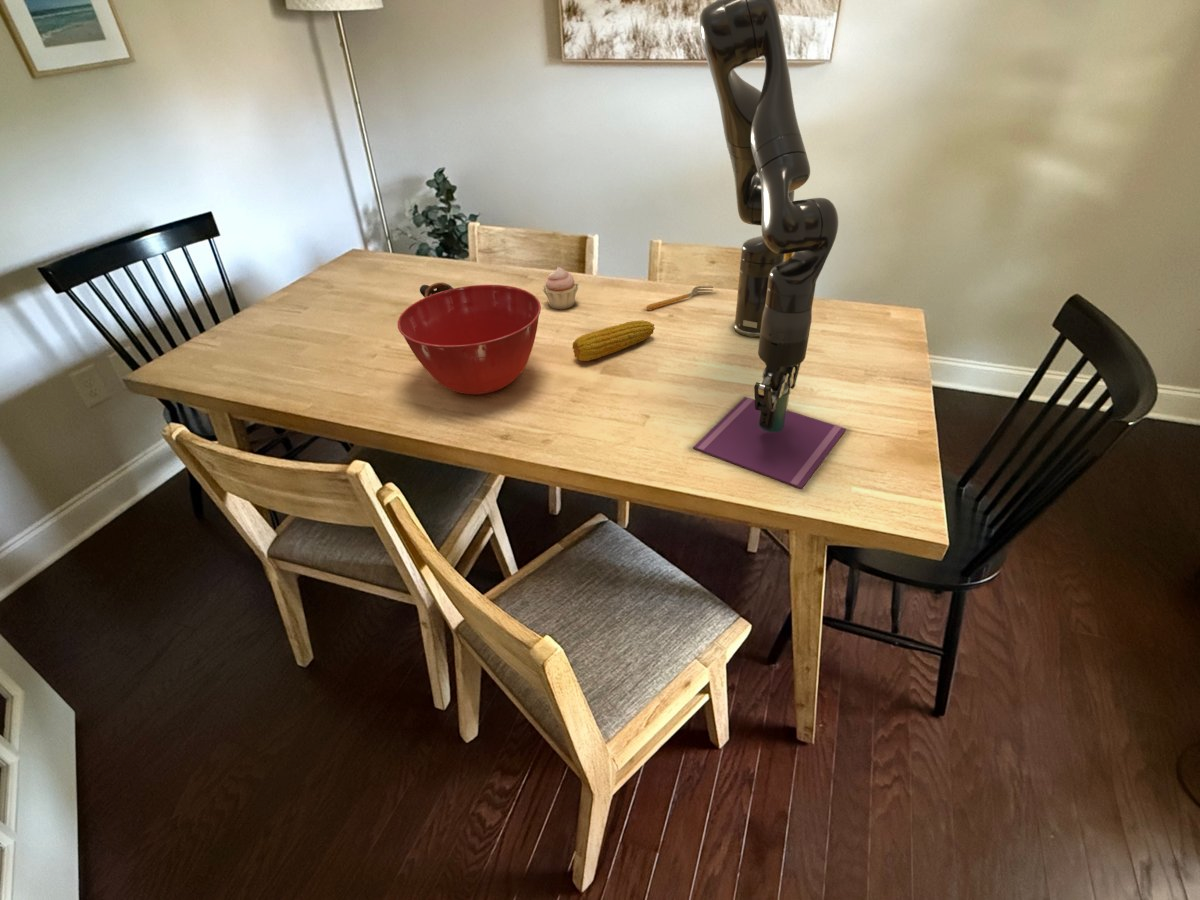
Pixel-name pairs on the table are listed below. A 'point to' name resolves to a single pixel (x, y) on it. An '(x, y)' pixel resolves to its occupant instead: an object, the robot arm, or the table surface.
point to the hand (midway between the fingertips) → (772, 419)
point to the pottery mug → (429, 290)
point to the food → (611, 339)
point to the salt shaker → (779, 411)
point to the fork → (679, 297)
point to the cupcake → (560, 289)
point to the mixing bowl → (473, 335)
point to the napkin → (771, 444)
